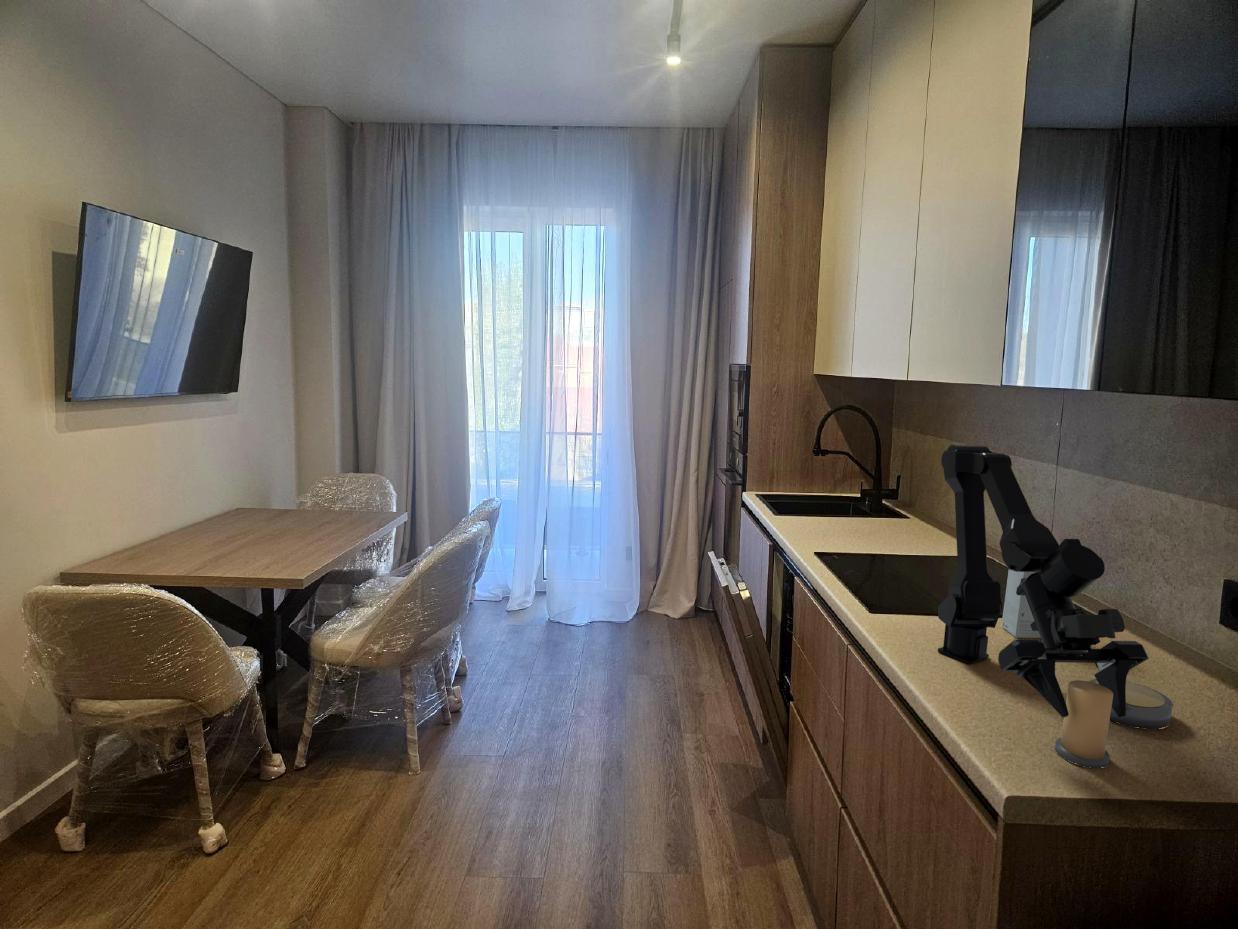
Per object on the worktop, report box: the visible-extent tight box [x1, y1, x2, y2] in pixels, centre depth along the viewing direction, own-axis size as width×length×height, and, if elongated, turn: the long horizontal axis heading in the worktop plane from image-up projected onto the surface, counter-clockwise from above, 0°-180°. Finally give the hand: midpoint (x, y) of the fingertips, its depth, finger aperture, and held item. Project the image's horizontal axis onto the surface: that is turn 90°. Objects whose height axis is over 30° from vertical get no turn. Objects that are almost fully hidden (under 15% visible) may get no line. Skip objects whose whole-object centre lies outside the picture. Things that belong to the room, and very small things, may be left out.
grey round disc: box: [1088, 678, 1174, 729], centre depth 113 cm, size 11×11×3 cm
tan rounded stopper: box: [1054, 679, 1113, 768], centre depth 99 cm, size 6×6×10 cm
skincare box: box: [1001, 568, 1041, 639], centre depth 144 cm, size 8×6×15 cm
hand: (1094, 716), depth 98 cm, fingers open, 8 cm apart
